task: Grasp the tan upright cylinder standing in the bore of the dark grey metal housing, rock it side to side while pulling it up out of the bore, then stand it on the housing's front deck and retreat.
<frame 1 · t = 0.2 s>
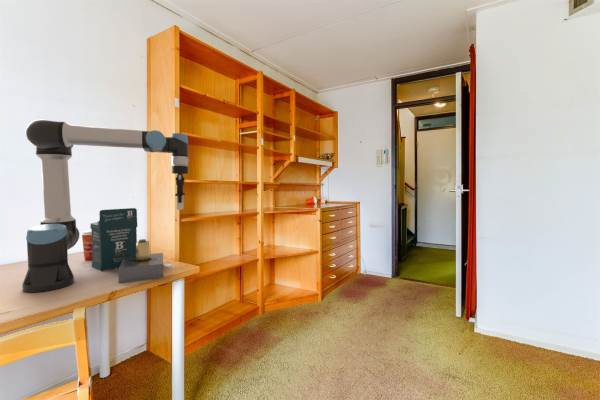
hand: (180, 208, 144), 28 cm above the table, fingers open, 13 cm apart
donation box: (113, 265, 143), on the table
tan upright cylinder: (143, 268, 129), point 2 cm above the table, touching housing
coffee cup: (91, 259, 153), on the table
housing: (143, 273, 129), on the table
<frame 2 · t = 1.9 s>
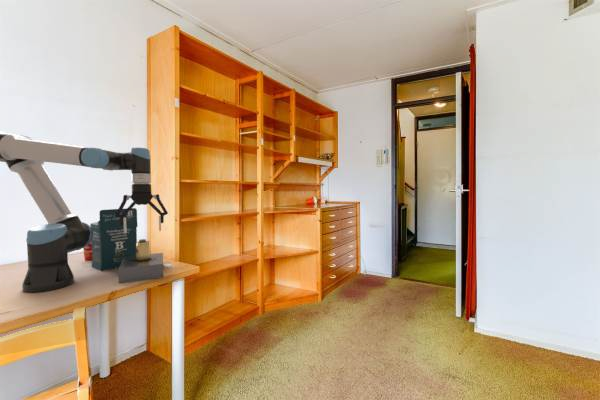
hand: (143, 231, 128), 19 cm above the table, fingers open, 13 cm apart
nothing on the table moved.
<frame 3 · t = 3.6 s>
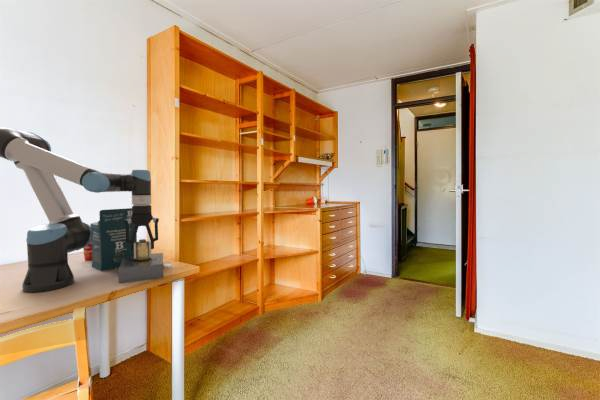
hand: (142, 257, 129), 7 cm above the table, fingers closed on tan upright cylinder, 5 cm apart
tan upright cylinder: (143, 268, 129), point 2 cm above the table, touching gripper, housing
everything else where it was.
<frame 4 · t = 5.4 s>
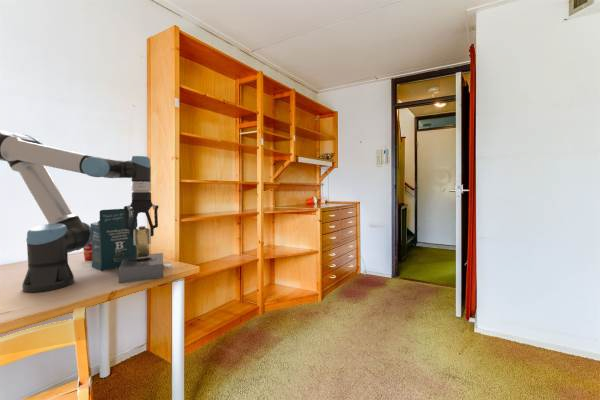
hand: (142, 244, 128), 13 cm above the table, fingers closed on tan upright cylinder, 5 cm apart
tan upright cylinder: (142, 255, 129), point 8 cm above the table, touching gripper
everything else where it was.
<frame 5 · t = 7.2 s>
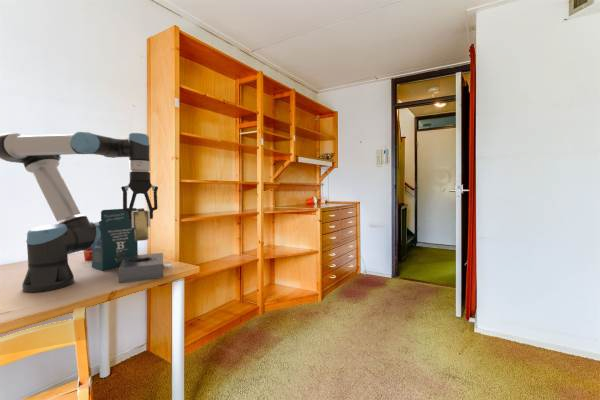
hand: (141, 227, 121), 22 cm above the table, fingers closed on tan upright cylinder, 5 cm apart
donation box: (113, 265, 143), on the table, touching arm
tan upright cylinder: (141, 239, 121), point 16 cm above the table, touching gripper
everything else where it was.
when the fingers open (12 cm above the table, at t = 9.0 s): tan upright cylinder stays where it is, resting on housing.
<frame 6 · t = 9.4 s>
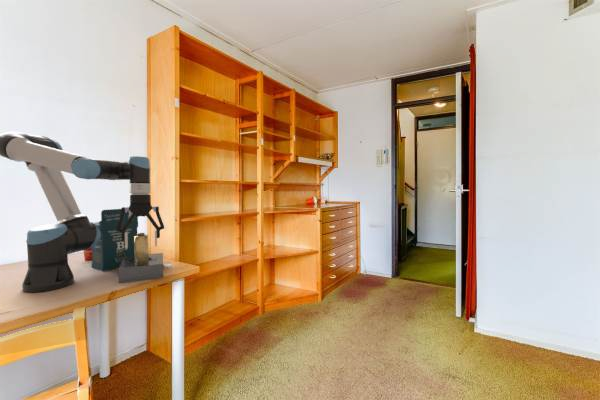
hand: (141, 246, 122), 13 cm above the table, fingers open, 10 cm apart
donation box: (113, 265, 142), on the table
tan upright cylinder: (141, 263, 122), point 6 cm above the table, touching housing
everything else where it was.
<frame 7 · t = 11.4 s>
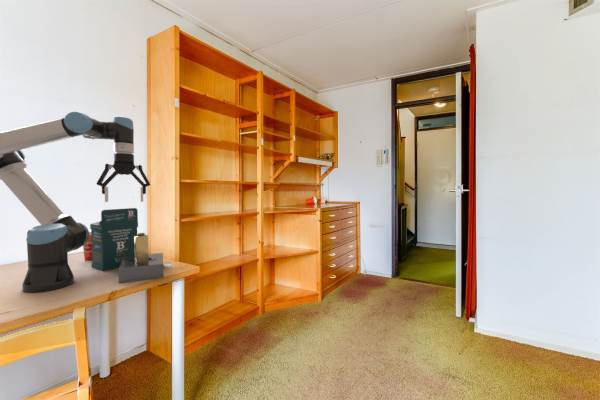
hand: (124, 201, 129), 32 cm above the table, fingers open, 13 cm apart
nothing on the table moved.
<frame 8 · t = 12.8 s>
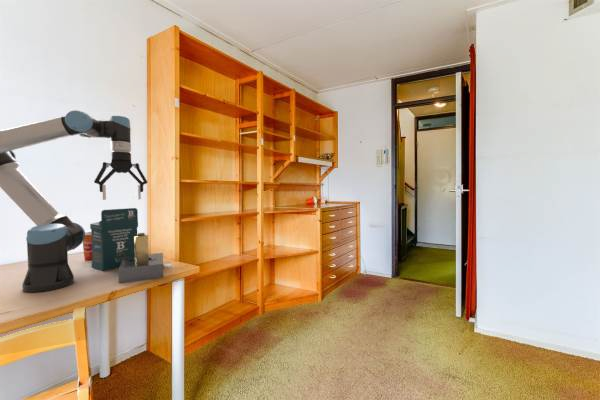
hand: (122, 199, 130), 33 cm above the table, fingers open, 13 cm apart
nothing on the table moved.
at the end: tan upright cylinder point 6.0 cm above the table; tan upright cylinder inside the target area (0.1 cm from its centre), point 6.0 cm above the table; tan upright cylinder tilted 0° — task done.
